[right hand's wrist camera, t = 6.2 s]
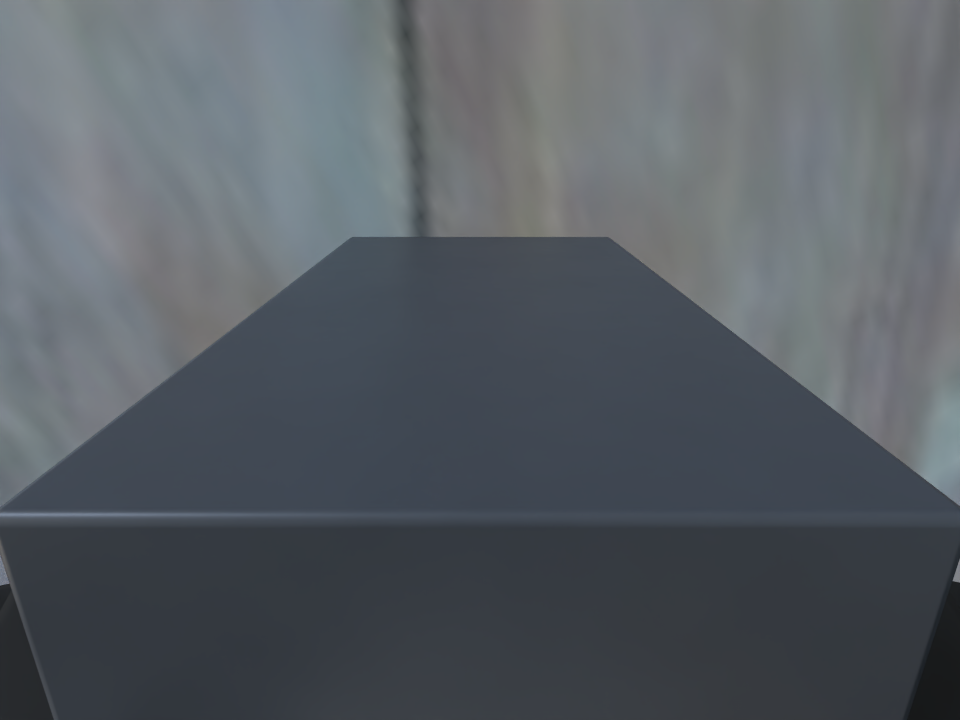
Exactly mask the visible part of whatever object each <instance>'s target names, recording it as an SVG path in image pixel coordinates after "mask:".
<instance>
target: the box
mask: <svg viewBox="0 0 960 720" xmlns="http://www.w3.org/2000/svg"><path fill="white" fill-rule="evenodd" d="M0 555H1V558H2V561H3V564H4V568H5V571H6V574H7V577H8V580H9V583H10V586H11V589H12V592H13V595H14V598H15V601H16V604H17V608H18V611H19V614H20V617H21V620H22V623H23V626H24V629H25V632H26V635H27V638H28V641H29V644H30V648H31V651H32V654H33V657H34V660H35V663H36V666H37V669H38V672H39V675H40V678H41V681H42V684H43V688H44V691H45V694H46V697H47V700H48V703H49V706H50V709H51V712H52V715H53V718H54V720H907V719H908V716H909V712H910V709H911V706H912V703H913V700H914V697H915V694H916V691H917V688H918V685H919V682H920V679H921V676H922V673H923V670H924V666H925V663H926V660H927V657H928V654H929V651H930V648H931V645H932V642H933V639H934V636H935V633H936V630H937V627H938V623H939V620H940V617H941V614H942V611H943V608H944V605H945V602H946V599H947V596H948V593H949V590H950V587H951V584H952V581H953V577H954V574H955V571H956V568H957V565H958V562H959V559H960V506H959V505H957V504H956V503H955V502H953V501H952V500H951V499H950V498H948V497H947V496H946V495H944V494H943V493H942V492H940V491H939V490H938V489H937V488H935V487H934V486H933V485H931V484H930V483H929V482H927V481H926V480H925V479H923V478H922V477H921V476H920V475H918V474H917V473H916V472H914V471H913V470H912V469H910V468H909V467H908V466H907V465H905V464H904V463H903V462H901V461H900V460H899V459H897V458H896V457H895V456H893V455H892V454H891V453H890V452H888V451H887V450H886V449H884V448H883V447H882V446H880V445H879V444H878V443H877V442H875V441H874V440H873V439H871V438H870V437H869V436H867V435H866V434H865V433H863V432H862V431H861V430H860V429H858V428H857V427H856V426H854V425H853V424H852V423H850V422H849V421H848V420H847V419H845V418H844V417H843V416H841V415H840V414H839V413H837V412H836V411H835V410H833V409H832V408H831V407H830V406H828V405H827V404H826V403H824V402H823V401H822V400H820V399H819V398H818V397H817V396H815V395H814V394H813V393H811V392H810V391H809V390H807V389H806V388H805V387H803V386H802V385H801V384H800V383H798V382H797V381H796V380H794V379H793V378H792V377H790V376H789V375H788V374H787V373H785V372H784V371H783V370H781V369H780V368H779V367H777V366H776V365H775V364H773V363H772V362H771V361H770V360H768V359H767V358H766V357H764V356H763V355H762V354H760V353H759V352H758V351H757V350H755V349H754V348H753V347H751V346H750V345H749V344H747V343H746V342H745V341H743V340H742V339H741V338H740V337H738V336H737V335H736V334H734V333H733V332H732V331H730V330H729V329H728V328H727V327H725V326H724V325H723V324H721V323H720V322H719V321H717V320H716V319H715V318H713V317H712V316H711V315H710V314H708V313H707V312H706V311H704V310H703V309H702V308H700V307H699V306H698V305H697V304H695V303H694V302H693V301H691V300H690V299H689V298H687V297H686V296H685V295H683V294H682V293H681V292H680V291H678V290H677V289H676V288H674V287H673V286H672V285H670V284H669V283H668V282H667V281H665V280H664V279H663V278H661V277H660V276H659V275H657V274H656V273H655V272H653V271H652V270H651V269H650V268H648V267H647V266H646V265H644V264H643V263H642V262H640V261H639V260H638V259H637V258H635V257H634V256H633V255H631V254H630V253H629V252H627V251H626V250H625V249H623V248H622V247H621V246H620V245H618V244H617V243H616V242H614V241H613V240H612V239H610V238H608V237H352V238H350V239H349V240H347V241H346V242H345V243H343V244H342V245H341V246H339V247H338V248H337V249H336V250H334V251H333V252H332V253H330V254H329V255H328V256H326V257H325V258H324V259H323V260H321V261H320V262H319V263H317V264H316V265H315V266H313V267H312V268H311V269H309V270H308V271H307V272H306V273H304V274H303V275H302V276H300V277H299V278H298V279H296V280H295V281H294V282H293V283H291V284H290V285H289V286H287V287H286V288H285V289H283V290H282V291H281V292H280V293H278V294H277V295H276V296H274V297H273V298H272V299H270V300H269V301H268V302H267V303H265V304H264V305H263V306H261V307H260V308H259V309H257V310H256V311H255V312H254V313H252V314H251V315H250V316H248V317H247V318H246V319H244V320H243V321H242V322H241V323H239V324H238V325H237V326H235V327H234V328H233V329H231V330H230V331H229V332H228V333H226V334H225V335H224V336H222V337H221V338H220V339H218V340H217V341H216V342H215V343H213V344H212V345H211V346H209V347H208V348H207V349H205V350H204V351H203V352H202V353H200V354H199V355H198V356H196V357H195V358H194V359H192V360H191V361H190V362H189V363H187V364H186V365H185V366H183V367H182V368H181V369H179V370H178V371H177V372H176V373H174V374H173V375H172V376H170V377H169V378H168V379H166V380H165V381H164V382H163V383H161V384H160V385H159V386H157V387H156V388H155V389H153V390H152V391H151V392H150V393H148V394H147V395H146V396H144V397H143V398H142V399H140V400H139V401H138V402H137V403H135V404H134V405H133V406H131V407H130V408H129V409H127V410H126V411H125V412H124V413H122V414H121V415H120V416H118V417H117V418H116V419H114V420H113V421H112V422H111V423H109V424H108V425H107V426H105V427H104V428H103V429H101V430H100V431H99V432H98V433H96V434H95V435H94V436H92V437H91V438H90V439H88V440H87V441H86V442H84V443H83V444H82V445H81V446H79V447H78V448H77V449H75V450H74V451H73V452H71V453H70V454H69V455H68V456H66V457H65V458H64V459H62V460H61V461H60V462H58V463H57V464H56V465H55V466H53V467H52V468H51V469H49V470H48V471H47V472H45V473H44V474H43V475H42V476H40V477H39V478H38V479H36V480H35V481H34V482H32V483H31V484H30V485H29V486H27V487H26V488H25V489H23V490H22V491H21V492H19V493H18V494H17V495H16V496H14V497H13V498H12V499H10V500H9V501H8V502H6V503H5V504H4V505H3V506H1V507H0Z"/></svg>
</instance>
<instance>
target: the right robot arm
mask: <svg viewBox="0 0 960 720" xmlns="http://www.w3.org/2000/svg"><path fill="white" fill-rule="evenodd" d="M0 720H54V718H53V715H52V712H51V709H50V706H49V703H48V700H47V697H46V694H45V691H44V688H43V684H42V681H41V678H40V675H39V672H38V669H37V666H36V663H35V660H34V657H33V654H32V651H31V648H30V644H29V641H28V638H27V635H26V632H25V629H24V626H23V623H22V620H21V617H20V614H19V611H18V608H17V604H16V601H15V598H14V595H13V592H12V589H11V586H10V584H6V585H1V586H0ZM907 720H960V583H959V582H954V581H952V584H951V587H950V590H949V593H948V596H947V599H946V602H945V605H944V608H943V611H942V614H941V617H940V620H939V623H938V627H937V630H936V633H935V636H934V639H933V642H932V645H931V648H930V651H929V654H928V657H927V660H926V663H925V666H924V670H923V673H922V676H921V679H920V682H919V685H918V688H917V691H916V694H915V697H914V700H913V703H912V706H911V709H910V712H909V716H908V719H907Z"/></svg>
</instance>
